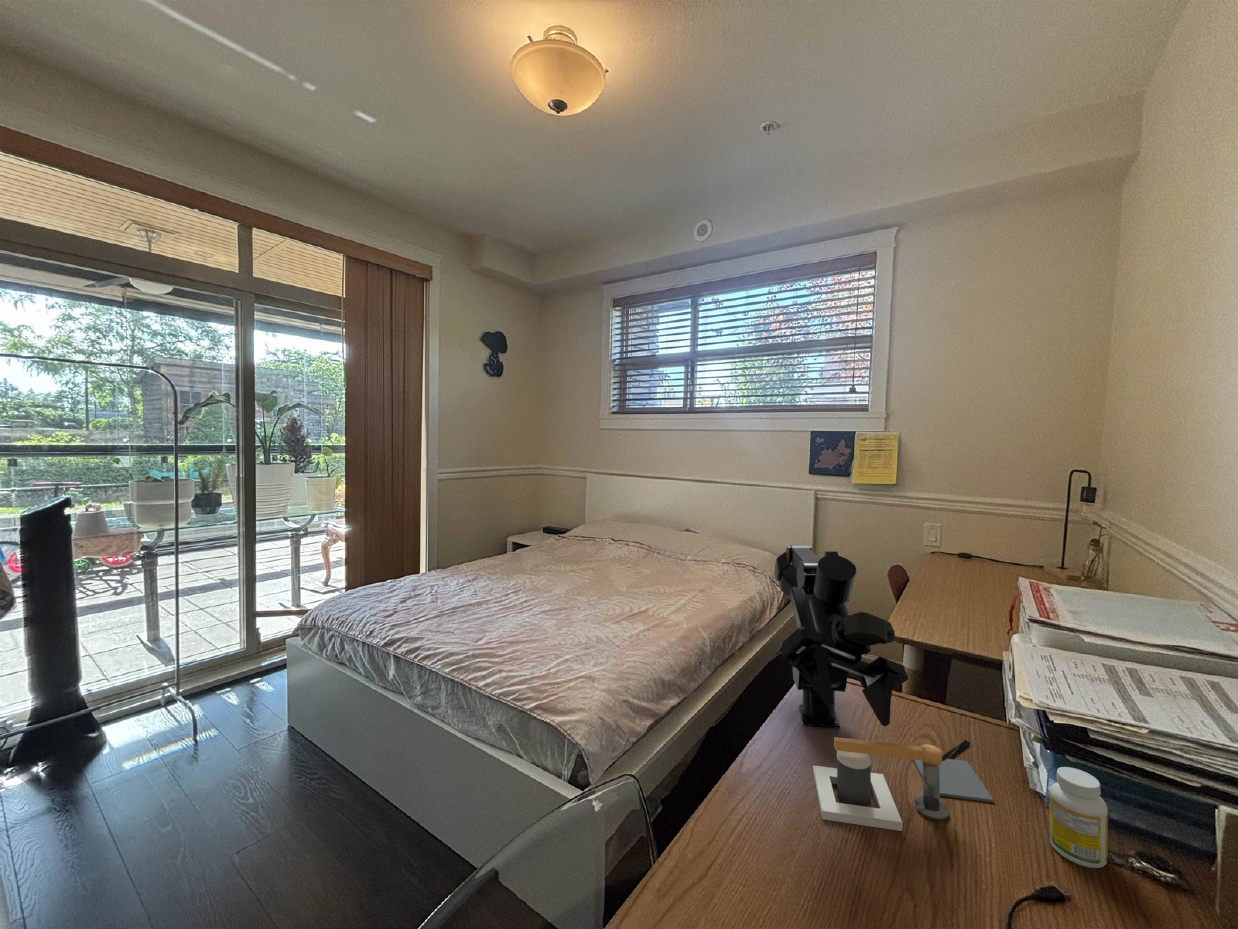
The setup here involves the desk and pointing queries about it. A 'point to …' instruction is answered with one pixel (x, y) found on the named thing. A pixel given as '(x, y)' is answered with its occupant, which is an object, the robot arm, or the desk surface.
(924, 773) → the post
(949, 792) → the mat
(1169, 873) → the desk surface
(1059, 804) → the supplement bottle
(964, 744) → the black pen
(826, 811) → the socket block
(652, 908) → the desk surface
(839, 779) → the plug
